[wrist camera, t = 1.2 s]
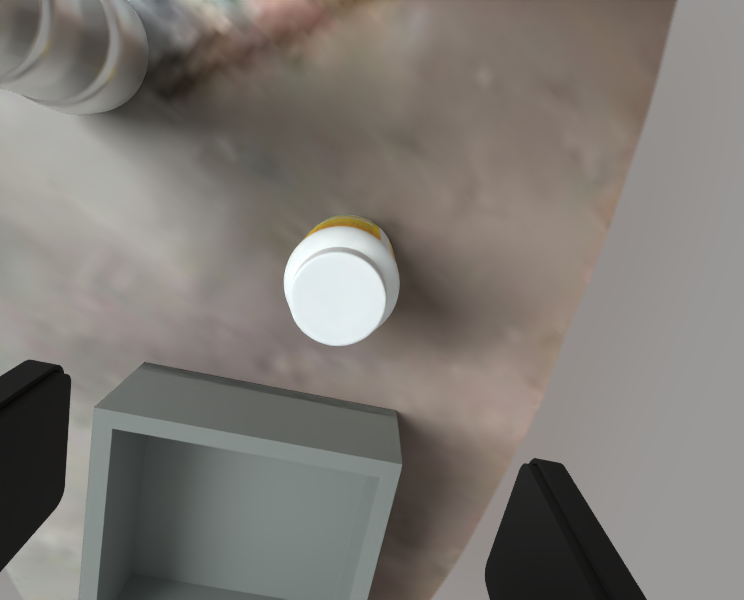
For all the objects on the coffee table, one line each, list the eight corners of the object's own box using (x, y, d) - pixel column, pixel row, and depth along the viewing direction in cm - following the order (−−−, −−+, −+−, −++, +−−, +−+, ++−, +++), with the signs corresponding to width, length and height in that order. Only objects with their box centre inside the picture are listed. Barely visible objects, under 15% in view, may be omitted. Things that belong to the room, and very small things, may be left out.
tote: (144, 362, 31) (93, 407, 26) (396, 410, 32) (402, 464, 27) (122, 571, 35) (74, 651, 30) (346, 608, 36) (343, 692, 31)
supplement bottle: (411, 267, 30) (430, 314, 21) (339, 319, 31) (327, 387, 22) (355, 193, 29) (350, 207, 20) (283, 249, 30) (244, 289, 20)
